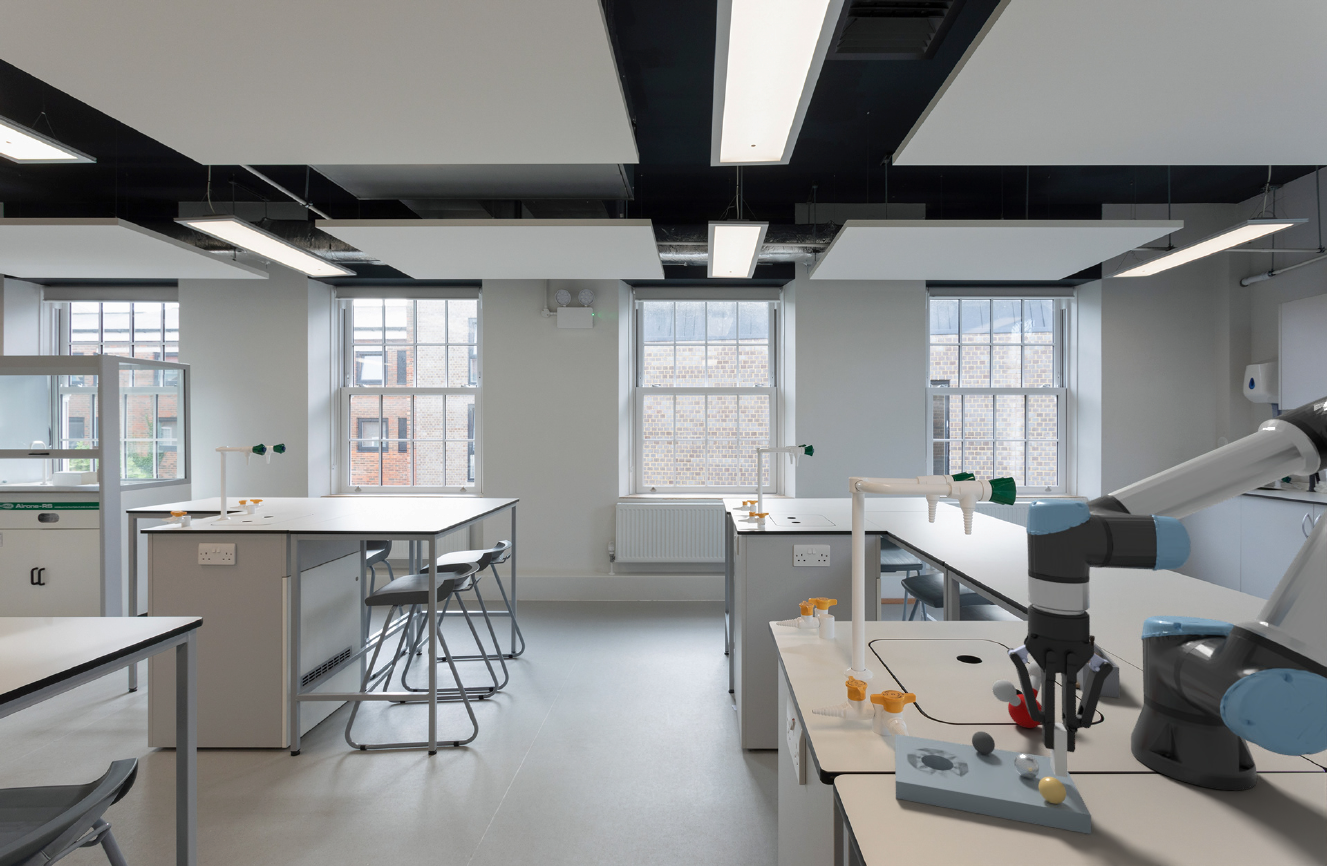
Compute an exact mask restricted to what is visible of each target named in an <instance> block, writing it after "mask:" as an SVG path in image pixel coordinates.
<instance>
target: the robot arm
mask: <svg viewBox="0 0 1327 866" xmlns="http://www.w3.org/2000/svg"><path fill="white" fill-rule="evenodd" d="M1323 470H1327V395H1326V396H1323V397H1320V398H1318V399H1315V400H1313V401H1310V402H1307V403H1306V404H1303V405H1301V406H1298V407H1296V408H1294V409H1291V410H1288V411H1286V412H1284V413H1281V414H1279V415H1277V416H1275V417H1272V418H1269V419H1267V420H1265V421H1263V422H1262V423H1261V424H1260V425H1259V427H1258V429H1257V431H1256V432H1254V433H1252V434H1249V435H1246V436H1244V437H1242V438H1239V439H1237V440H1235V441H1232V442H1230V443H1228V444H1225V445H1223V446H1221V447H1218V448H1216V449H1213V450H1211V451H1209V452H1206V453H1204V454H1201V455H1199V456H1196V457H1194V458H1191V459H1189V460H1187V461H1184V462H1182V463H1179V464H1177V465H1175V466H1173V467H1170V468H1167V469H1165V470H1162V471H1160V472H1158V473H1155V474H1153V475H1150V476H1148V477H1146V478H1143V479H1140V480H1139V481H1136V482H1134V483H1133V482H1132V483H1131V484H1129V485H1127V486H1125V487H1121V488H1120V489H1117V490H1114V491H1112V492H1110V493H1107V494H1104V495H1103V496H1099V497H1096V498H1094V499H1091V500H1089V501H1087V502H1084V501H1082V500H1075V499H1074V500H1073V499H1057V498H1043V499H1042V498H1040V499H1035V500H1033V501H1031V502H1030V504H1029V505H1028V509H1027V510H1028V511H1027V512H1028V513H1027V521H1026V534H1027V535H1026V536H1027V537H1026V538H1027V601H1028V602H1029V603H1030V605H1029V606H1027V634H1026V637H1025V639H1024V640H1023V644H1022V645H1021V646H1018V647H1016V648H1012V647H1011V648H1008V649H1007V655H1008V656H1009V658H1010V660H1011V662H1012V663H1013V665H1014V667H1015V669H1016V673H1017V676H1018V680H1019V684H1020V688H1021V692H1022V694H1023V695H1024V699H1025V703H1026V707H1027V710H1028V713H1029V715H1030V717H1031V718H1032V720H1033V721H1038V722H1040V723H1041V725H1042V727H1041V728H1042V729H1041V733H1042V734H1041V736H1042V737H1041V740H1042V742H1043V745H1044V747H1045V749H1048V750H1049V751H1050V753H1049V754H1050V755H1049V757H1050V766H1051V768H1052V770H1053V772H1054V774H1055V776H1061V777H1067V771H1068V753H1075V751H1076V733H1077V732H1078V731H1079V730H1078V729H1081V728H1085V729H1090V728H1091V726H1092V724H1093V721H1094V717H1095V714H1096V710H1097V706H1098V704H1099V700H1100V696H1101V695H1100V693H1101V690H1102V686H1103V683H1104V680H1105V678H1106V677H1107V676H1108V675H1109V674H1110V673H1111V671H1112V670H1113V666H1112V665H1111V664H1110V663H1109V662H1108V661H1107V660H1106V659H1105V658H1101V657H1099V656H1098V655H1096V654H1095V653H1094V650H1093V648H1092V646H1091V644H1090V635H1091V630H1090V628H1091V625H1090V620H1091V619H1090V617H1091V616H1090V614H1089V612H1088V611H1087V610H1089V609H1090V607H1091V606H1090V604H1091V603H1090V599H1091V598H1090V573H1091V568H1096V569H1100V568H1101V569H1102V568H1105V569H1106V568H1108V569H1110V568H1111V569H1130V570H1131V569H1132V570H1151V571H1153V572H1155V571H1163V570H1165V571H1166V570H1177V569H1181V568H1182V567H1183V566H1185V565H1186V563H1187V562H1188V560H1189V559H1190V556H1191V553H1192V552H1191V544H1192V543H1191V538H1190V535H1189V531H1188V530H1187V528H1186V527H1185V525H1184V524H1183V522H1182V521H1180V519H1183V518H1186V517H1188V516H1191V515H1193V514H1195V513H1198V512H1201V511H1203V510H1205V509H1208V508H1211V507H1213V506H1215V505H1218V504H1221V503H1223V502H1225V501H1229V500H1231V499H1233V498H1236V497H1238V496H1241V495H1243V494H1245V493H1249V492H1251V491H1254V490H1256V489H1258V488H1261V487H1263V486H1266V485H1268V484H1270V483H1273V482H1276V481H1279V480H1281V479H1283V478H1286V477H1288V476H1291V475H1295V476H1300V477H1307V476H1311V475H1314V474H1317V473H1319V472H1321V471H1323ZM1142 625H1143V626H1142V630H1141V631H1142V633H1141V637H1140V639H1141V641H1142V681H1143V684H1142V687H1143V705H1142V708H1141V711H1140V713H1139V715H1138V718H1137V720H1136V723H1135V725H1134V727H1133V730H1132V732H1131V734H1130V750H1131V753H1132V755H1133V756H1134V758H1136V759H1137V760H1138V761H1139V762H1141V763H1142V764H1144V765H1145V766H1147V767H1149V768H1151V770H1154V771H1156V772H1158V773H1161V774H1163V775H1165V776H1167V777H1170V778H1173V779H1176V780H1179V781H1181V782H1184V783H1188V784H1192V785H1196V786H1199V787H1205V788H1209V789H1216V790H1224V791H1243V790H1248V789H1251V788H1253V787H1254V786H1256V784H1257V766H1256V763H1255V760H1254V757H1253V755H1252V753H1251V750H1250V747H1249V745H1248V742H1249V743H1252V744H1255V745H1256V746H1257V747H1260V748H1262V749H1264V750H1266V751H1269V752H1271V753H1274V754H1278V755H1283V756H1289V757H1290V756H1291V757H1299V756H1303V755H1308V756H1310V755H1315V754H1319V753H1322V752H1325V751H1326V750H1327V507H1326V508H1325V510H1324V512H1323V513H1322V515H1321V516H1320V518H1319V519H1318V521H1317V522H1316V524H1315V525H1314V527H1313V529H1312V530H1311V532H1310V533H1309V535H1308V536H1307V538H1306V539H1305V541H1304V543H1303V545H1302V546H1301V548H1300V549H1299V551H1298V552H1297V554H1296V555H1295V557H1294V559H1293V560H1292V562H1291V563H1290V565H1289V566H1288V567H1287V569H1286V571H1285V573H1284V574H1283V576H1282V577H1281V579H1280V581H1279V582H1278V583H1277V585H1276V587H1275V588H1274V590H1273V591H1272V592H1271V595H1270V596H1269V598H1268V600H1267V601H1266V603H1265V604H1264V606H1263V607H1262V609H1261V610H1260V612H1259V614H1258V615H1257V616H1256V618H1255V619H1253V620H1252V621H1245V622H1239V623H1235V624H1233V623H1231V622H1229V621H1228V622H1227V621H1223V620H1219V619H1218V620H1217V619H1212V618H1204V617H1194V616H1185V615H1183V616H1180V615H1152V616H1149V617H1147V618H1146V619H1144V621H1143V624H1142ZM1028 655H1030V656H1031V657H1032V658H1033V661H1036V663H1037V664H1038V665H1039V667H1040V668H1041V686H1040V689H1041V691H1040V692H1041V693H1040V694H1041V697H1040V698H1041V699H1040V700H1041V703H1040V704H1041V711H1040V710H1038V706H1037V703H1036V700H1037V698H1036V699H1035V695H1034V691H1033V688H1032V684H1031V680H1030V678H1031V676H1030V675H1029V673H1028V667H1027V665H1026V664H1028V662H1029V658H1028ZM1089 660H1090V663H1089V667H1090V668H1091V669H1090V671H1089V673H1088V677H1087V680H1086V684H1085V687H1084V691H1083V692H1082V694H1081V699H1080V702H1079V705H1078V708H1077V688H1076V683H1077V673H1078V672H1079V671H1080V670H1081V669H1082V668H1083V667H1084V666H1085V665H1086V664H1087V662H1088V661H1089ZM1057 674H1060V676H1061V720H1062V722H1057V721H1056V680H1057Z"/></svg>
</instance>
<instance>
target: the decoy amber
mask: <svg viewBox="0 0 1327 866" xmlns="http://www.w3.org/2000/svg"><path fill="white" fill-rule="evenodd" d="M1039 791H1040V794H1041V795H1042V797H1043V798H1044V799H1045V800H1047V801H1048V802H1050V803H1054V804H1059V803H1061V802H1063V801H1064V800H1065V798H1066V789H1065V787H1064V785H1063V784H1062V783H1061V782H1060V781H1059V780H1058V779H1056V778H1054V777H1044V778H1042V779H1041V780H1040V782H1039Z"/></svg>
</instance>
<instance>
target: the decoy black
mask: <svg viewBox="0 0 1327 866" xmlns="http://www.w3.org/2000/svg"><path fill="white" fill-rule="evenodd" d="M971 744H972V746H974V748H975V749H976V750H977V751H978V752H979V753H982V754H990V753H991V752H992V751H993V750H994V749H996V748H995V747H996V743H995V740H994V739H993V737H992V736H991V735H990V733H988V732H985V731H977V732H975V733H974V734H973V735H972V737H971Z"/></svg>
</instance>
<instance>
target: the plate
mask: <svg viewBox="0 0 1327 866" xmlns="http://www.w3.org/2000/svg"><path fill="white" fill-rule="evenodd" d="M894 744H895V745H894V746H895V747H894V748H895V749H894V750H895V751H894V752H895V753H894V754H895V755H894V758H895V763H894V764H895V799H897V800H902V801H910V802H915V803H919V804H925V805H931V806H937V807H941V808H942V807H943V808H947V809H952V810H957V811H964V812H967V813H975V814H978V815H979V814H980V815H985V816H991V817H994V818H1001V819H1007V820H1013V821H1018V822H1023V823H1027V824H1034V825H1039V826H1045V827H1051V828H1055V829H1061V830H1066V831H1072V832H1076V833H1077V832H1078V833H1083V834H1088V835H1092V815H1091V813H1090V811H1089V809H1088V807H1087V805H1086V803H1085V802H1084V800H1083V798H1082V796H1081V794H1080V791H1079V789H1078V788H1077V786H1076V784H1075V782H1074V781H1073V778H1072V776H1071V775H1070V773H1069V771H1068V770H1067V777H1061V776H1055V774H1054V772H1053V770H1052V768H1051V766H1050V756H1045V755H1036V754H1031V753H1027V754H1028V755H1031V756H1032V757H1034V758H1035V759H1036V761H1037V762H1038V764H1039V768H1040V770H1039V774H1038V775H1037V776H1036V777H1035V778H1031V779H1029V778H1025V777H1023V776H1021V775H1020V774H1019V773H1018V772H1017V771H1016V769H1015V766H1014V761H1015V758H1016V757H1017V756H1018V755H1020V754H1026V753H1023V752H1019V751H1012V750H1011V751H1010V750H1004V749H997V748H994V750H993V751H992V752H991V753H990V754H982V753H979V752H978V751H977V750H976V749H975V748H974V746H973V744H972V745H970V744H964V743H958V742H957V743H956V742H952V741H951V742H950V741H944V740H939V739H938V740H937V739H932V738H925V737H924V738H923V737H917V736H910V735H905V734H899V733H894ZM1044 777H1054V778H1056V779H1058V780H1059V781H1060V782H1061V783H1062V784H1063V785H1064V787H1065V789H1066V798H1065V800H1064V801H1063V802H1061V803H1059V804H1054V803H1050V802H1048V801H1047V800H1045V799H1044V798H1043V797H1042V795H1041V794H1040V791H1039V782H1040V780H1041V779H1042V778H1044Z"/></svg>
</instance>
